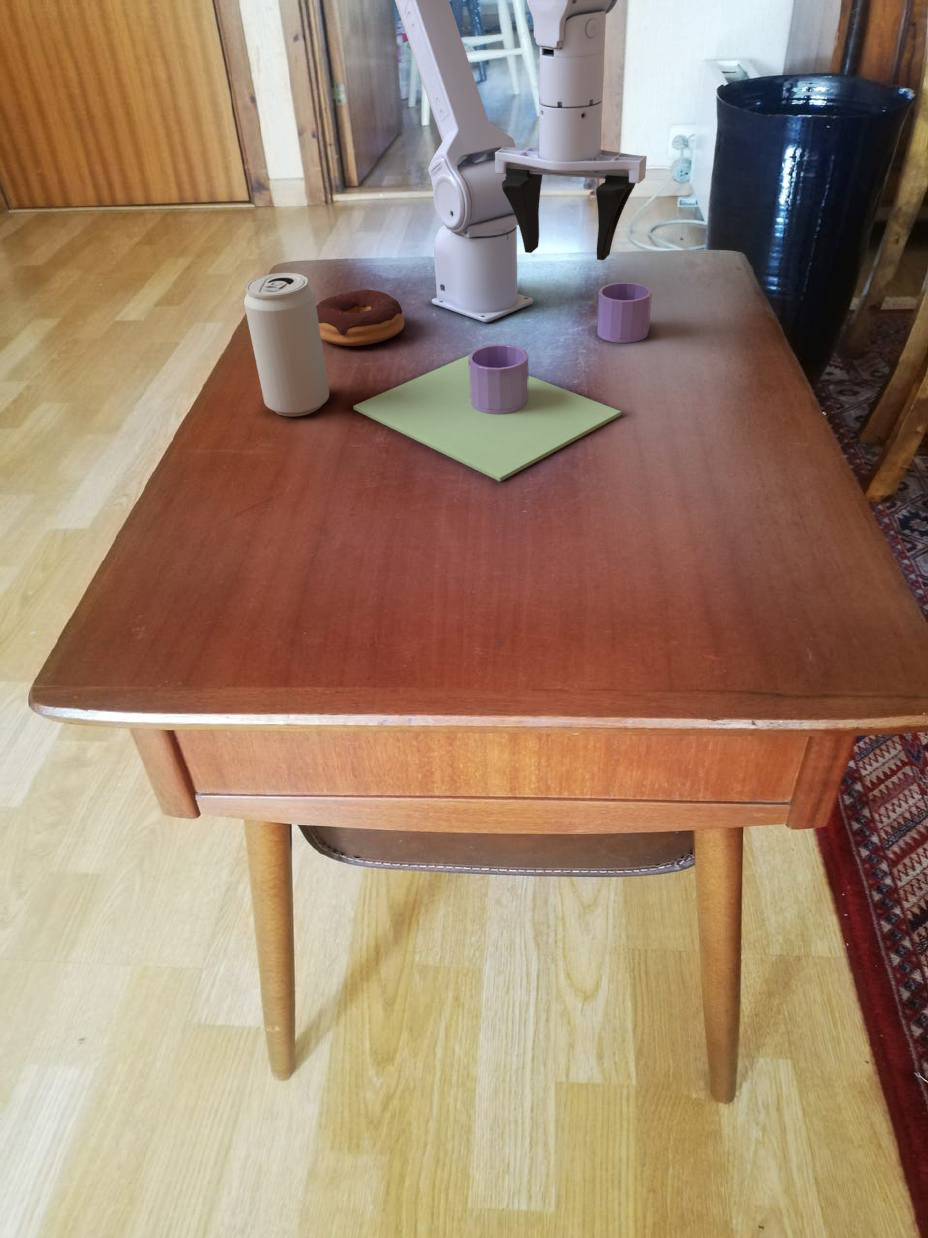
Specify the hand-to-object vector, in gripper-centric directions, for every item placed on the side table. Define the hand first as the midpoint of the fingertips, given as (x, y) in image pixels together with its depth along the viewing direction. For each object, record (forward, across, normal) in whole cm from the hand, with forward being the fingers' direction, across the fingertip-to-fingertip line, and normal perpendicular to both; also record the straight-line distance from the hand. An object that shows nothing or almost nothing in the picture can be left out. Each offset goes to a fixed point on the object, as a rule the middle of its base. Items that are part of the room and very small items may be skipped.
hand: (566, 253), depth 93 cm
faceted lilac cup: (+9, -5, -4) cm, 12 cm away
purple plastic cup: (+9, +1, +16) cm, 18 cm away
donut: (+10, +22, +5) cm, 25 cm away
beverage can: (+10, +20, +22) cm, 31 cm away
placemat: (+9, +2, +18) cm, 20 cm away
